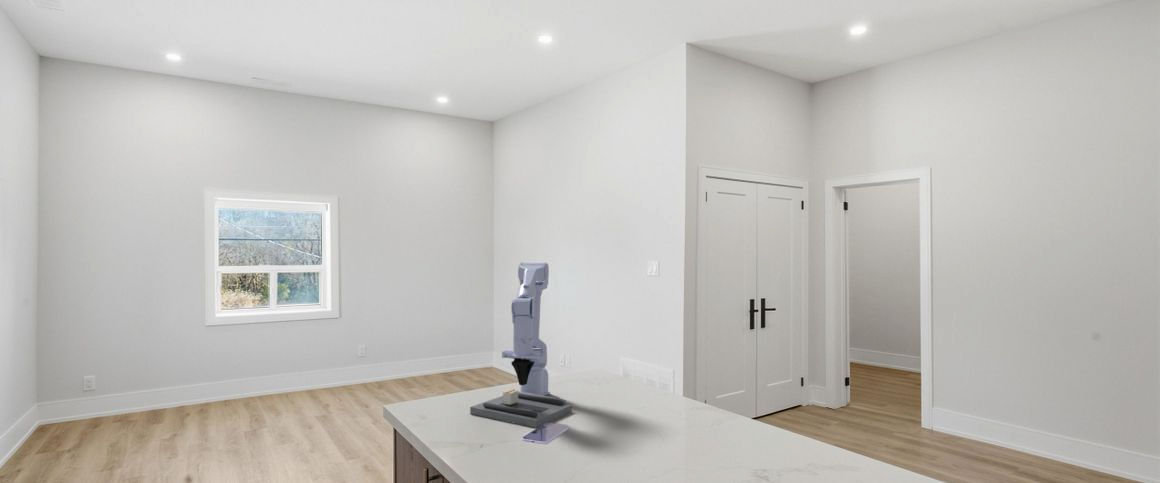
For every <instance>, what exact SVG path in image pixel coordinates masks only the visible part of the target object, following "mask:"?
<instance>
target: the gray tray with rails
mask: <svg viewBox="0 0 1160 483" xmlns="http://www.w3.org/2000/svg"><path fill="white" fill-rule="evenodd" d="M517 391H518V398H523V399H528V400H534V401H539V402H545V403H550V404H556V405H561V404H567V400H566V399H563V398H559V397H553V396H548V395H545V396H542V395H536V394H531V393H525V392H521V391H519V390H517ZM483 403H484V402H483ZM483 406H484V407H486V408H491V409H496V410H501V411H505V412H510V413H515V414H520V415H525V416H530V417H537V415H538V414H537V413H536V412H532V411H527V410H522V409H517V408H512V407H506V406H501V405H496V404H491V403H484V404H483Z"/></svg>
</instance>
